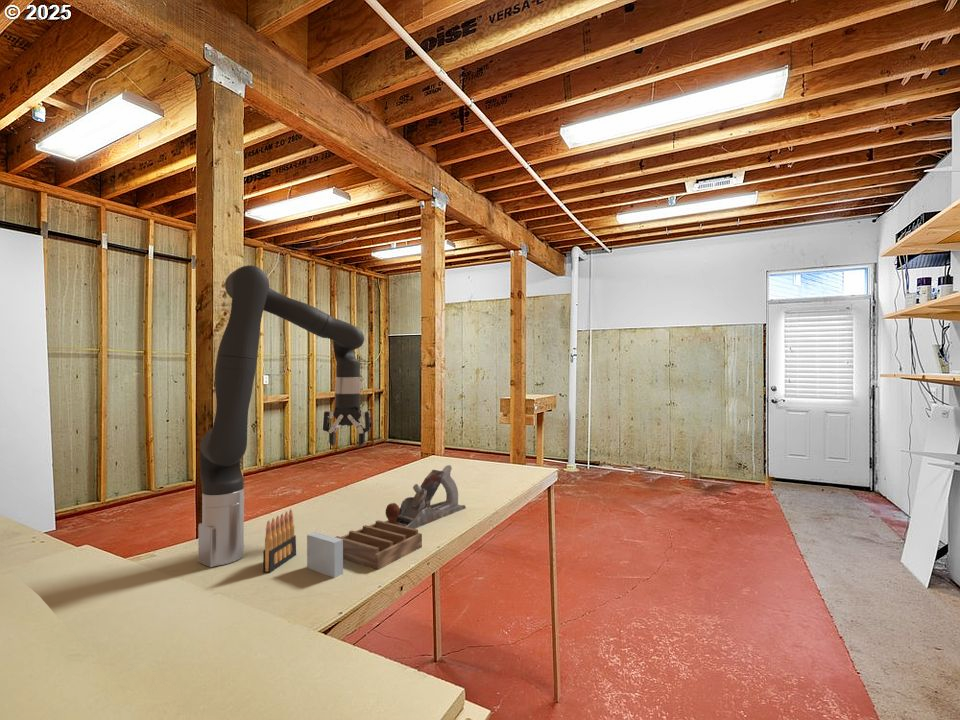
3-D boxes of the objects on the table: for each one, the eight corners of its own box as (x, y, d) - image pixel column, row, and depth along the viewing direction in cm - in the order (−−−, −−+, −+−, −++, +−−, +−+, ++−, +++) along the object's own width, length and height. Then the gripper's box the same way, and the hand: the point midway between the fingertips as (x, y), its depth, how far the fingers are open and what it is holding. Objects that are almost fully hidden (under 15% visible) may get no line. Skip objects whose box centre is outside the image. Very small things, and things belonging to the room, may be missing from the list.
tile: (334, 578, 103) (334, 542, 104) (307, 568, 109) (306, 534, 109) (343, 574, 106) (342, 539, 106) (315, 564, 111) (315, 531, 111)
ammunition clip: (269, 573, 106) (269, 521, 107) (262, 572, 107) (262, 521, 107) (296, 554, 117) (296, 508, 117) (290, 554, 117) (289, 507, 117)
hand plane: (373, 531, 134) (372, 480, 134) (447, 504, 160) (447, 461, 161) (393, 538, 128) (393, 485, 129) (467, 508, 155) (466, 464, 155)
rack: (378, 569, 107) (377, 550, 107) (330, 554, 117) (330, 536, 117) (421, 546, 121) (421, 530, 121) (376, 535, 130) (376, 519, 130)
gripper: (320, 392, 135) (319, 447, 134) (367, 392, 134) (366, 447, 134) (329, 391, 142) (328, 443, 142) (374, 391, 142) (373, 443, 141)
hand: (347, 445), depth 138 cm, fingers open, 8 cm apart
